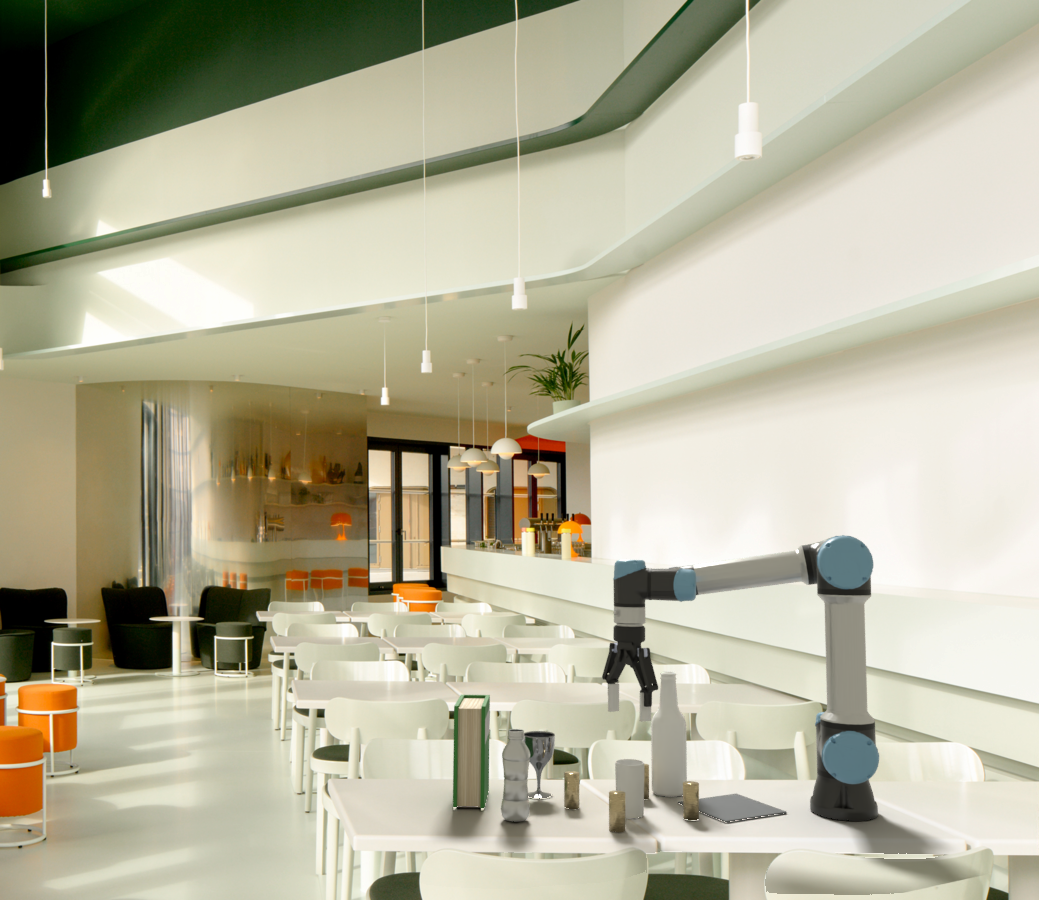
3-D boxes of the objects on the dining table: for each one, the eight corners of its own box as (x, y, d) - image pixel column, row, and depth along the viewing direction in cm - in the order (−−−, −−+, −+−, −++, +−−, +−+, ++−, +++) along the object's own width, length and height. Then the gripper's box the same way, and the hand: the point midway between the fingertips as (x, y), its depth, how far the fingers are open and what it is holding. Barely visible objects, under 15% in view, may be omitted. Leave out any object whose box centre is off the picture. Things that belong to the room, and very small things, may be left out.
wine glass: (517, 797, 234) (518, 735, 236) (529, 790, 242) (530, 730, 243) (548, 801, 231) (548, 738, 233) (559, 793, 239) (559, 732, 240)
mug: (644, 820, 216) (644, 766, 217) (614, 818, 217) (614, 764, 218) (645, 808, 226) (645, 756, 227) (616, 806, 227) (616, 755, 228)
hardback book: (484, 810, 223) (485, 706, 225) (452, 810, 223) (454, 706, 225) (488, 791, 240) (489, 694, 242) (459, 791, 240) (460, 694, 243)
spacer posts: (702, 820, 216) (702, 784, 217) (614, 833, 206) (614, 795, 206) (643, 795, 237) (643, 762, 238) (561, 806, 226) (561, 772, 227)
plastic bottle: (515, 815, 219) (515, 726, 221) (536, 821, 214) (536, 730, 216) (494, 820, 215) (495, 730, 217) (515, 826, 210) (516, 734, 212)
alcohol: (647, 795, 237) (647, 673, 240) (656, 787, 245) (655, 669, 248) (682, 799, 234) (681, 675, 237) (690, 791, 242) (689, 671, 245)
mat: (786, 813, 222) (786, 811, 222) (725, 823, 214) (725, 821, 214) (736, 795, 238) (736, 793, 238) (677, 803, 230) (677, 801, 230)
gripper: (588, 621, 235) (588, 708, 233) (646, 629, 213) (645, 726, 211) (614, 620, 238) (614, 706, 236) (673, 628, 216) (673, 723, 214)
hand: (629, 716), depth 224 cm, fingers open, 13 cm apart
